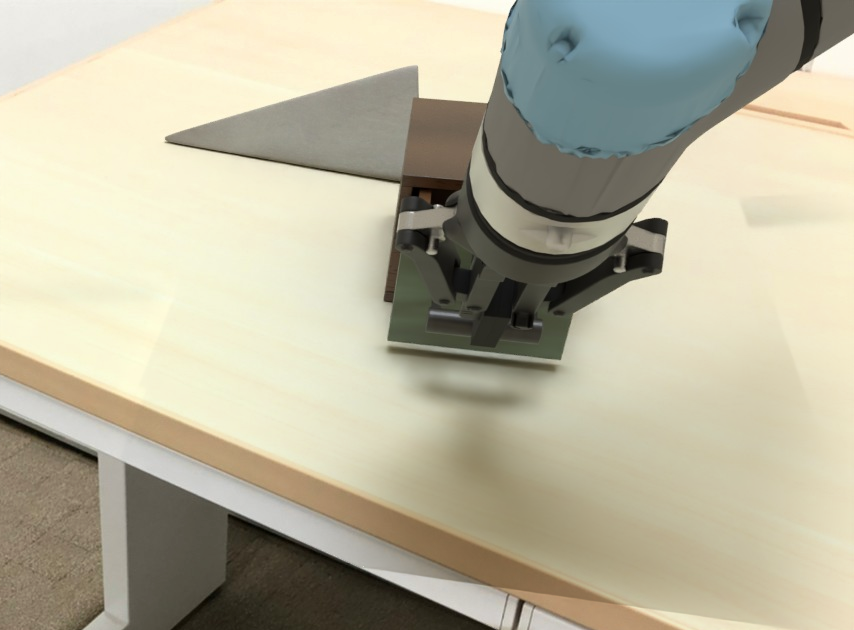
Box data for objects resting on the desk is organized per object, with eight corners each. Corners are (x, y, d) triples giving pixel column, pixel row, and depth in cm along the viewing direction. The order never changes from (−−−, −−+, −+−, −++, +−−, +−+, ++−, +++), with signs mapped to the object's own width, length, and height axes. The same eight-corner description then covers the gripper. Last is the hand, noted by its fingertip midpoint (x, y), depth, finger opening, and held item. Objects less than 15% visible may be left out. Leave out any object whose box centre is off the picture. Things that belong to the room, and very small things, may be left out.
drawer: (563, 395, 79) (593, 285, 74) (382, 374, 81) (399, 265, 76) (553, 266, 92) (578, 165, 87) (398, 251, 94) (414, 151, 89)
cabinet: (562, 320, 88) (596, 191, 82) (383, 301, 90) (402, 174, 84) (555, 229, 99) (584, 110, 93) (395, 214, 101) (413, 97, 95)
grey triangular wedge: (152, 179, 106) (423, 144, 100) (153, 99, 108) (418, 61, 103) (175, 243, 115) (424, 213, 110) (175, 168, 117) (419, 136, 112)
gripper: (391, 244, 54) (369, 372, 77) (707, 276, 52) (587, 397, 75) (415, 79, 55) (386, 255, 78) (730, 103, 52) (603, 277, 76)
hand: (485, 325), depth 76 cm, fingers closed
